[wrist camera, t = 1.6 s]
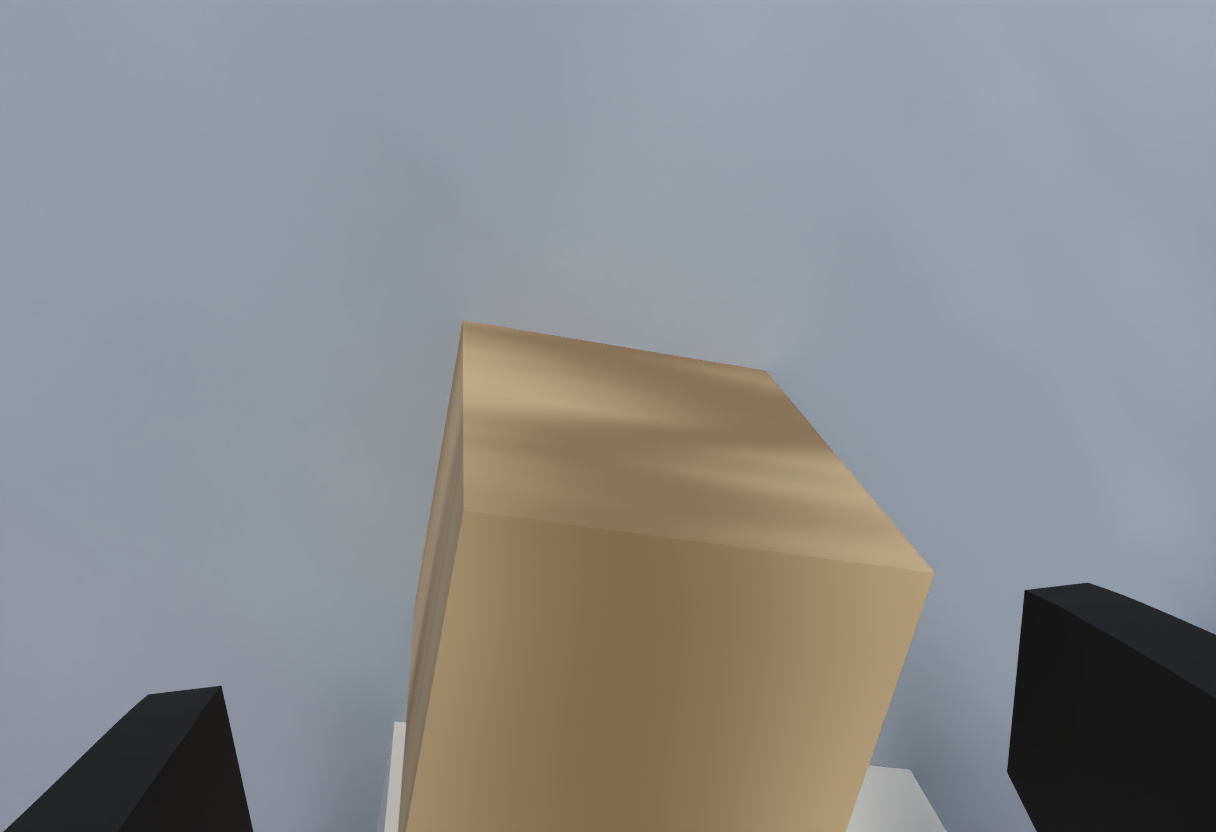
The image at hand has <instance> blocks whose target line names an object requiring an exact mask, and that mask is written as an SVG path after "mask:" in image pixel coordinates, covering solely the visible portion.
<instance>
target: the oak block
mask: <svg viewBox="0 0 1216 832" xmlns="http://www.w3.org/2000/svg"><path fill="white" fill-rule="evenodd" d="M934 574H935V573H934V571H933V570H932V569H931V568H930V567H929V565H928V564H927V563H926V562H925V561H924V559H923V558H922V557H921V556H920V555H919V553H918V552H917V551H916V550H915V549H914V547H913V546H912V545H911V544H910V543H909V541H908V540H907V539H906V538H905V537H904V535H903V534H902V533H901V532H900V531H899V530H898V528H897V527H896V526H895V525H894V524H893V522H892V521H891V520H890V519H889V518H888V516H887V515H886V514H885V513H884V512H883V510H882V509H881V508H880V507H879V506H878V504H877V503H876V502H875V501H874V500H873V498H872V497H871V496H870V495H869V494H868V492H867V491H866V490H865V489H864V488H863V487H862V485H861V484H860V483H859V482H858V481H857V479H856V478H855V477H854V476H853V475H852V473H851V472H850V471H849V470H848V469H847V467H846V466H845V465H844V464H843V463H842V461H841V460H840V459H839V458H838V457H837V455H836V454H835V453H834V452H833V451H832V449H831V448H830V447H829V446H828V445H827V443H826V442H825V441H824V440H823V439H822V438H821V436H820V435H819V434H818V433H817V432H816V430H815V429H814V428H813V427H812V426H811V424H810V423H809V422H808V421H807V420H806V418H805V417H804V416H803V415H802V414H801V412H800V411H799V410H798V409H797V408H796V406H795V405H794V404H793V403H792V402H791V400H790V399H789V398H788V397H787V396H786V395H785V393H784V392H783V391H782V390H781V389H780V387H779V386H778V385H777V384H776V383H775V381H774V380H773V379H772V378H771V377H770V375H769V374H768V373H767V372H766V371H763V370H757V369H751V368H745V367H739V366H733V365H727V364H721V363H715V362H709V361H703V360H697V359H691V358H685V357H679V356H673V355H667V354H661V353H655V352H649V351H643V350H637V349H631V348H625V347H619V346H613V345H607V344H601V343H595V342H589V341H583V340H577V339H571V338H565V337H559V336H553V335H547V334H541V333H535V332H529V331H523V330H517V329H511V328H505V327H499V326H493V325H487V324H481V323H475V322H469V321H463V323H462V329H461V335H460V341H459V347H458V353H457V358H456V364H455V370H454V376H453V382H452V388H451V394H450V400H449V406H448V412H447V418H446V424H445V430H444V435H443V441H442V447H441V453H440V459H439V465H438V471H437V477H436V483H435V489H434V495H433V501H432V506H431V512H430V518H429V524H428V530H427V536H426V542H425V548H424V554H423V560H422V566H421V572H420V578H419V583H418V589H417V595H416V603H415V616H414V629H413V642H412V655H411V668H410V681H409V694H408V707H407V719H406V732H405V745H404V758H403V771H402V784H401V797H400V810H399V822H398V832H846V830H847V827H848V824H849V821H850V818H851V816H852V813H853V810H854V807H855V804H856V801H857V798H858V795H859V792H860V789H861V786H862V784H863V781H864V778H865V775H866V772H867V769H868V766H869V763H870V760H871V757H872V754H873V752H874V749H875V746H876V743H877V740H878V737H879V734H880V731H881V728H882V725H883V723H884V720H885V717H886V714H887V711H888V708H889V705H890V702H891V699H892V696H893V693H894V691H895V688H896V685H897V682H898V679H899V676H900V673H901V670H902V667H903V664H904V662H905V659H906V656H907V653H908V650H909V647H910V644H911V641H912V638H913V635H914V632H915V630H916V627H917V624H918V621H919V618H920V615H921V612H922V609H923V606H924V603H925V600H926V598H927V595H928V592H929V589H930V586H931V583H932V580H933V577H934Z"/></svg>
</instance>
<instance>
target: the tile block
mask: <svg viewBox="0 0 1216 832" xmlns="http://www.w3.org/2000/svg"><path fill="white" fill-rule="evenodd" d="M405 732H406V723H403V722H394V728H393V734H392V740H391V746H390V752H389V758H388V764H387V770H386V776H385V782H384V788H383V794H382V800H381V806H380V812H379V818H378V824H377V830H376V832H398V822H399V810H400V797H401V784H402V771H403V758H404V745H405ZM846 832H946V830H945V828H944V826H943V825H942V823H941V821H940V820H939V818H938V816H937V815H936V813H935V811H934V810H933V808H932V806H931V804H930V803H929V801H928V799H927V798H926V796H925V794H924V793H923V791H922V789H921V787H920V786H919V784H918V782H917V781H916V779H915V777H914V776H913V774H912V772H911V771H910V769H899V768H889V767H878V766H868V769H867V772H866V775H865V778H864V781H863V784H862V786H861V789H860V792H859V795H858V798H857V801H856V804H855V807H854V810H853V813H852V816H851V818H850V821H849V824H848V827H847V830H846Z"/></svg>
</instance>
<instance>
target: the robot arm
mask: <svg viewBox="0 0 1216 832" xmlns="http://www.w3.org/2000/svg"><path fill="white" fill-rule="evenodd" d="M1007 773H1008V775H1009V777H1010V779H1011V781H1012V783H1013V785H1014V787H1015V789H1016V791H1017V793H1018V795H1019V797H1020V799H1021V801H1022V803H1023V805H1024V807H1025V809H1026V811H1027V813H1028V815H1029V817H1030V819H1031V821H1032V823H1033V825H1034V827H1035V829H1036V831H1037V832H1216V635H1215V634H1212V633H1210V632H1208V631H1206V630H1203V629H1201V628H1199V627H1197V626H1195V625H1192V624H1190V623H1188V622H1185V621H1183V620H1181V619H1179V618H1176V617H1174V616H1172V615H1169V614H1167V613H1165V612H1162V611H1160V610H1158V609H1155V608H1153V607H1151V606H1148V605H1146V604H1144V603H1141V602H1139V601H1136V600H1134V599H1131V598H1129V597H1126V596H1124V595H1121V594H1119V593H1116V592H1113V591H1111V590H1108V589H1105V588H1102V587H1099V586H1096V585H1093V584H1090V583H1081V584H1073V585H1064V586H1056V587H1048V588H1039V589H1031V590H1025V593H1024V603H1023V614H1022V624H1021V634H1020V645H1019V655H1018V665H1017V675H1016V686H1015V696H1014V706H1013V717H1012V727H1011V737H1010V748H1009V758H1008V768H1007ZM4 832H253V829H252V824H251V820H250V815H249V810H248V806H247V801H246V797H245V792H244V787H243V783H242V778H241V774H240V769H239V764H238V760H237V755H236V751H235V746H234V741H233V737H232V732H231V728H230V723H229V718H228V714H227V709H226V705H225V700H224V695H223V691H222V686H216V687H208V688H199V689H191V690H182V691H174V692H166V693H157V694H149V695H147V696H146V697H145V698H144V699H142V700H141V701H140V702H139V703H138V704H137V705H136V706H134V707H133V708H132V709H131V710H130V711H129V712H128V713H127V714H126V715H125V716H123V717H122V718H121V719H120V720H119V721H118V722H117V723H116V724H115V725H114V726H113V727H112V728H111V729H110V730H109V731H108V732H107V733H106V734H105V735H104V736H103V737H101V738H100V739H99V740H98V741H97V742H96V743H95V744H94V745H93V746H92V747H91V748H90V749H89V750H88V751H87V752H86V753H85V754H84V755H83V756H82V757H81V758H80V759H79V760H78V761H77V762H76V763H75V764H74V765H73V766H72V767H71V768H70V769H69V770H68V771H67V772H66V773H64V774H63V775H62V776H61V777H60V778H59V779H58V780H57V781H56V782H55V783H54V784H53V785H52V786H51V787H50V788H49V789H48V790H47V791H46V792H45V793H44V794H43V795H42V796H41V797H40V798H39V799H37V800H36V801H35V802H34V803H33V804H32V805H31V806H30V807H29V808H28V809H27V810H26V811H25V812H24V813H23V814H22V815H21V816H20V817H19V818H17V819H16V820H15V821H14V822H13V823H12V824H11V825H10V826H9V827H8V828H7V829H6V830H5V831H4Z"/></svg>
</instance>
